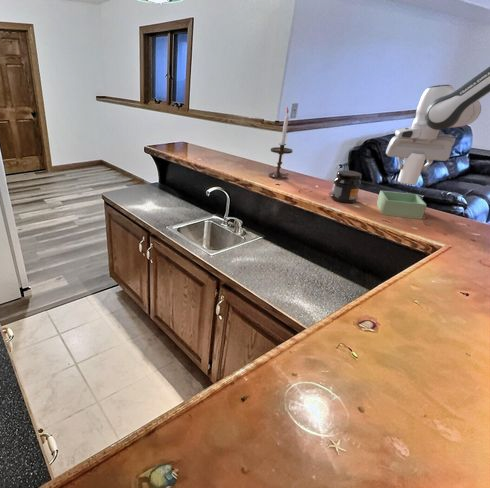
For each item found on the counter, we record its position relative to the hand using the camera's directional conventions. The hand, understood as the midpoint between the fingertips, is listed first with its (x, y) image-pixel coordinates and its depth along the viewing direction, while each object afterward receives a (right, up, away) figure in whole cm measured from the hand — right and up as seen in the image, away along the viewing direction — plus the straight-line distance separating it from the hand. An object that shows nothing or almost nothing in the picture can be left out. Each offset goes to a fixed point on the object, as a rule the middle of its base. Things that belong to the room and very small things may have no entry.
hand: (411, 169), depth 135 cm
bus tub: (0, -15, +8) cm, 17 cm away
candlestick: (-35, +7, +52) cm, 63 cm away
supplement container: (-17, -9, +20) cm, 27 cm away
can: (0, -5, +2) cm, 5 cm away
